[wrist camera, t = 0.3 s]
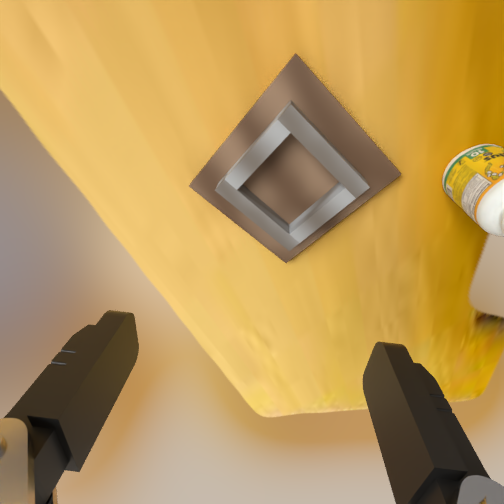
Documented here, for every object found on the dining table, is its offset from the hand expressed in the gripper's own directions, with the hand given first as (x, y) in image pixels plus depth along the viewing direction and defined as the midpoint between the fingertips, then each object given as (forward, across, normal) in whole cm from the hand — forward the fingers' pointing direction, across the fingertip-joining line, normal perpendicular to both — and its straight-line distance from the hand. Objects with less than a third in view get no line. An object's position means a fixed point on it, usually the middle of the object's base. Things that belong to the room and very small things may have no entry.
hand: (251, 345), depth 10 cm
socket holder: (+23, -2, 0) cm, 23 cm away
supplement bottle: (+22, -19, -2) cm, 29 cm away
